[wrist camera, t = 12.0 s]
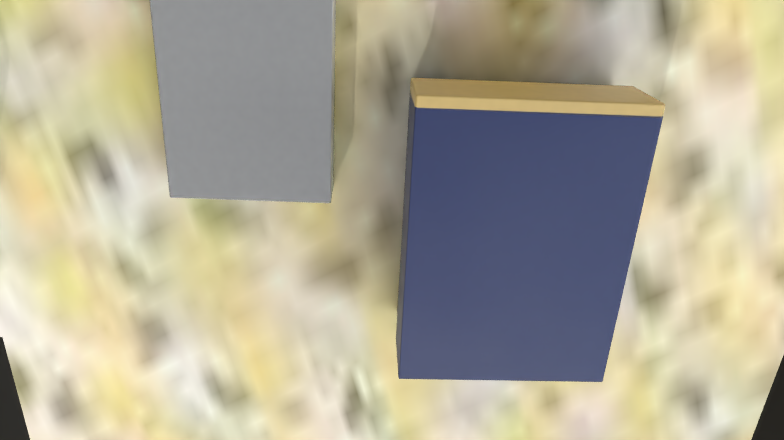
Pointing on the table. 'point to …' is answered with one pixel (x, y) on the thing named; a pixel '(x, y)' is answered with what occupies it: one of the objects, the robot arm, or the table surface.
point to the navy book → (519, 226)
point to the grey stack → (247, 97)
